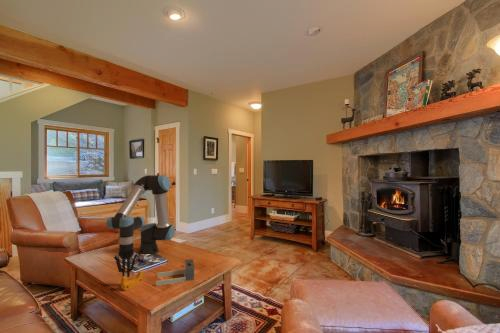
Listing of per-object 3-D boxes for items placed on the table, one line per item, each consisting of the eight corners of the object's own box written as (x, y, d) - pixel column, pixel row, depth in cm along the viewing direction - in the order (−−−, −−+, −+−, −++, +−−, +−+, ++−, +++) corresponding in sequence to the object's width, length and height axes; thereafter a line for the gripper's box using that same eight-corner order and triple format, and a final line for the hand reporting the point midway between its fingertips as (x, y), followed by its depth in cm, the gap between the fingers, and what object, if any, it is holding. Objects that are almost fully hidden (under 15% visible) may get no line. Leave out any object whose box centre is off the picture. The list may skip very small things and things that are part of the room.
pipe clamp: (124, 290, 135) (125, 279, 135) (120, 287, 138) (121, 276, 137) (144, 282, 145) (145, 272, 145) (140, 280, 147) (141, 270, 147)
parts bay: (157, 276, 153) (157, 272, 153) (184, 273, 158) (184, 269, 158) (155, 285, 141) (155, 281, 141) (185, 281, 146) (185, 277, 146)
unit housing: (185, 273, 157) (185, 258, 157) (193, 272, 159) (193, 257, 159) (185, 280, 147) (185, 265, 147) (194, 279, 148) (194, 264, 149)
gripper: (112, 246, 136) (112, 287, 136) (137, 244, 140) (136, 284, 140) (115, 242, 144) (115, 281, 143) (139, 240, 147) (138, 278, 147)
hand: (125, 282), depth 141 cm, fingers closed
